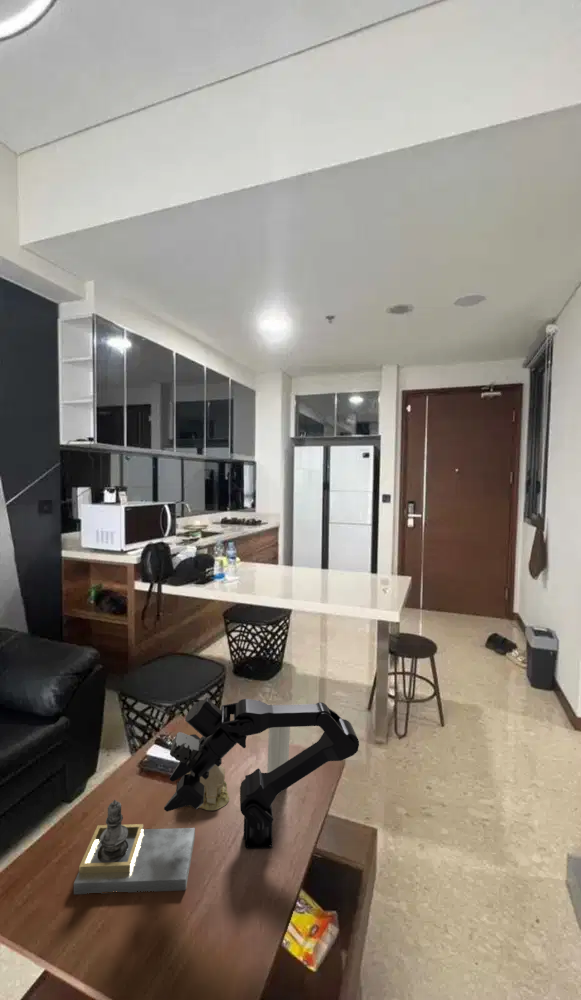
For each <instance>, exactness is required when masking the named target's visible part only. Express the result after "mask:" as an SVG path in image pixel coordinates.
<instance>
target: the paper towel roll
mask: <svg viewBox="0 0 581 1000" xmlns="http://www.w3.org/2000/svg"><path fill="white" fill-rule="evenodd" d="M290 730H291V727H274V728H268V745H267V748H268V749H267V768H266V769H267V770H266V771H267V772H266V773H269V772H271V771H273V770H274V769H276V768H277V767H279V766H280V765H282V764H284V763H285V762H287V761H288V760H290V759H289V758H290V757H289V756H290V755H289V754H290V733H291V731H290Z"/></svg>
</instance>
